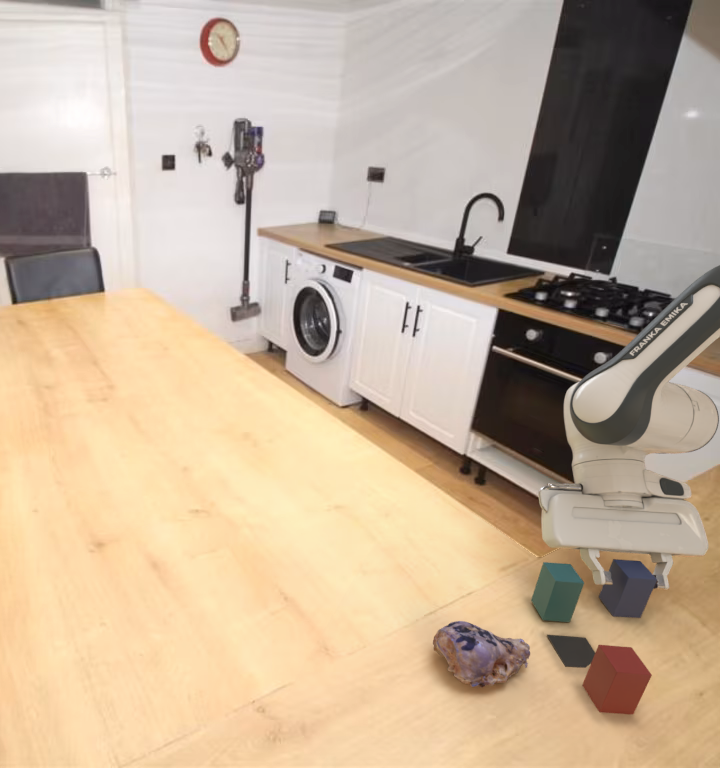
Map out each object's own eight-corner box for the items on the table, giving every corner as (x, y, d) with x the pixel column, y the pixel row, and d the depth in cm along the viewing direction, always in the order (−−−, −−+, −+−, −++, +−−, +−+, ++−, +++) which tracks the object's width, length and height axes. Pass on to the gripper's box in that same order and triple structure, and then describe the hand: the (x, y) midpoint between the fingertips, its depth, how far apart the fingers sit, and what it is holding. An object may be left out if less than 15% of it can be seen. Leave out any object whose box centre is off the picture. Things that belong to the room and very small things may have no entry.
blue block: (624, 599, 77) (640, 560, 75) (640, 618, 74) (657, 579, 71) (598, 596, 78) (612, 558, 75) (612, 616, 74) (628, 577, 72)
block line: (561, 602, 77) (575, 564, 74) (637, 719, 61) (658, 675, 58) (526, 599, 77) (538, 561, 74) (592, 714, 61) (611, 671, 59)
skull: (513, 639, 71) (525, 606, 68) (545, 696, 64) (560, 663, 61) (421, 639, 71) (429, 606, 68) (443, 696, 64) (453, 663, 61)
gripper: (547, 477, 77) (564, 580, 72) (702, 486, 75) (730, 592, 70) (526, 485, 83) (540, 581, 78) (669, 494, 81) (693, 593, 76)
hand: (631, 587), depth 74 cm, fingers open, 6 cm apart
